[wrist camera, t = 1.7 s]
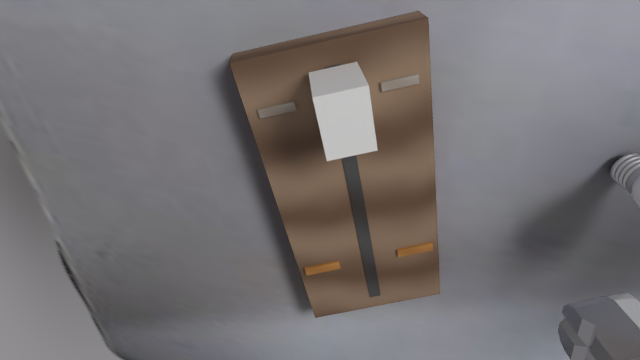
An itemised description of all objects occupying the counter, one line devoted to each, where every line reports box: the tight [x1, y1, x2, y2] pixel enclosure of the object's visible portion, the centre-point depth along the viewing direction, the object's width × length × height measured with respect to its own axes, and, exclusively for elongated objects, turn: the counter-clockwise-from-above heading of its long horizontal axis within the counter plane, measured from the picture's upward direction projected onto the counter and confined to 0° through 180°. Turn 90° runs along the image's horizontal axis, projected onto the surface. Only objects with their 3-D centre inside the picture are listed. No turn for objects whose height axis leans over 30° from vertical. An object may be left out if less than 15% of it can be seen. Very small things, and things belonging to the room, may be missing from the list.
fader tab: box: [309, 62, 378, 161], centre depth 23 cm, size 4×3×4 cm
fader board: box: [229, 11, 440, 318], centre depth 31 cm, size 25×12×2 cm, turn 11°
